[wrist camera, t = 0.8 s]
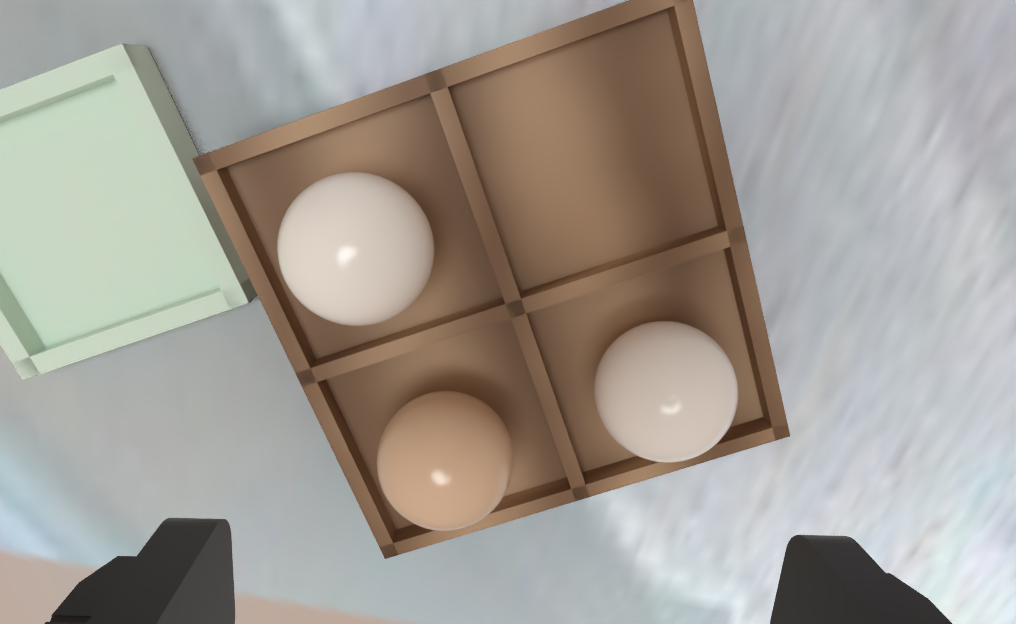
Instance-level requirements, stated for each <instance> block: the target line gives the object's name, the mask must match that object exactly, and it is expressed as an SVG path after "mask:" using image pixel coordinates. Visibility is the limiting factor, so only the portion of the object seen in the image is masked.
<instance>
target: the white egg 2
mask: <svg viewBox="0 0 1016 624" xmlns="http://www.w3.org/2000/svg"><path fill="white" fill-rule="evenodd" d="M594 399H595V404H596V408H597V412H598V415H599V417H600V419H601V421H602V423H603V425H604V427H605V429H606V430H607V431H608V433H609V434H610V435H611V436H612V438H613V439H614V440H615V441H616V442H617V443H618V444H620V445H621V446H622V447H623V448H625V449H626V450H628V451H629V452H631V453H633V454H635V455H637V456H639V457H642V458H644V459H648V460H652V461H656V462H679V461H684V460H688V459H691V458H694V457H697V456H699V455H701V454H703V453H705V452H706V451H708V450H709V449H711V448H712V447H713V446H714V445H716V444H717V443H718V442H719V441H720V439H721V438H722V437H723V436H724V435H725V433H726V432H727V431H728V429H729V427H730V426H731V424H732V421H733V419H734V416H735V413H736V409H737V404H738V383H737V377H736V374H735V371H734V368H733V365H732V363H731V362H730V360H729V358H728V356H727V355H726V353H725V352H724V351H723V349H722V348H721V347H720V346H719V344H718V343H717V342H716V341H714V340H713V339H712V338H711V337H710V336H708V335H707V334H706V333H704V332H702V331H701V330H699V329H697V328H694V327H692V326H689V325H687V324H683V323H679V322H673V321H655V322H649V323H645V324H641V325H639V326H636V327H634V328H632V329H630V330H628V331H626V332H625V333H623V334H622V335H620V336H619V337H618V338H617V339H616V340H615V341H614V342H613V343H612V344H611V345H610V346H609V347H608V349H607V350H606V352H605V353H604V355H603V356H602V358H601V361H600V363H599V365H598V368H597V371H596V375H595V380H594Z"/></svg>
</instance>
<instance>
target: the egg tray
mask: <svg viewBox="0 0 1016 624" xmlns="http://www.w3.org/2000/svg"><path fill="white" fill-rule="evenodd" d="M192 160H193V162H194V164H195V166H196V168H197V170H198V172H199V174H200V176H201V178H202V180H203V183H204V185H205V187H206V189H207V191H208V193H209V195H210V197H211V199H212V201H213V203H214V205H215V207H216V209H217V212H218V214H219V216H220V218H221V220H222V222H223V224H224V226H225V228H226V230H227V232H228V234H229V236H230V238H231V241H232V243H233V245H234V247H235V249H236V251H237V253H238V255H239V257H240V259H241V261H242V263H243V265H244V267H245V270H246V272H247V274H248V276H249V278H250V280H251V282H252V284H253V286H254V288H255V290H256V292H257V294H258V296H259V299H260V301H261V303H262V305H263V307H264V309H265V311H266V313H267V315H268V317H269V319H270V321H271V323H272V325H273V328H274V330H275V332H276V334H277V336H278V338H279V340H280V342H281V344H282V346H283V348H284V350H285V352H286V355H287V357H288V359H289V361H290V363H291V365H292V367H293V369H294V371H295V373H296V375H297V377H298V379H299V381H300V384H301V386H302V388H303V390H304V392H305V394H306V396H307V398H308V400H309V402H310V404H311V406H312V408H313V410H314V413H315V415H316V417H317V419H318V421H319V423H320V425H321V427H322V429H323V431H324V433H325V435H326V437H327V439H328V442H329V444H330V446H331V448H332V450H333V452H334V454H335V456H336V458H337V460H338V462H339V464H340V466H341V468H342V471H343V473H344V475H345V477H346V479H347V481H348V483H349V485H350V487H351V489H352V491H353V493H354V495H355V497H356V500H357V502H358V504H359V506H360V508H361V510H362V512H363V514H364V516H365V518H366V520H367V522H368V524H369V526H370V529H371V531H372V533H373V535H374V537H375V539H376V541H377V543H378V545H379V547H380V549H381V551H382V553H383V555H384V558H385V559H386V558H389V557H393V556H396V555H399V554H403V553H406V552H409V551H413V550H416V549H419V548H422V547H426V546H429V545H432V544H436V543H439V542H442V541H446V540H449V539H452V538H455V537H459V536H462V535H465V534H469V533H472V532H475V531H478V530H482V529H485V528H488V527H492V526H495V525H498V524H502V523H505V522H508V521H511V520H515V519H518V518H521V517H525V516H528V515H531V514H535V513H538V512H541V511H544V510H548V509H551V508H554V507H558V506H561V505H564V504H568V503H571V502H574V501H577V500H581V499H584V498H587V497H591V496H594V495H597V494H601V493H604V492H607V491H610V490H614V489H617V488H620V487H624V486H627V485H630V484H634V483H637V482H640V481H643V480H647V479H650V478H653V477H657V476H660V475H663V474H667V473H670V472H673V471H676V470H680V469H683V468H686V467H690V466H693V465H696V464H700V463H703V462H706V461H709V460H713V459H716V458H719V457H723V456H726V455H729V454H733V453H736V452H739V451H742V450H746V449H749V448H752V447H756V446H759V445H762V444H766V443H769V442H772V441H775V440H779V439H782V438H785V437H789V436H790V433H789V429H788V424H787V420H786V415H785V411H784V406H783V402H782V397H781V393H780V388H779V384H778V379H777V375H776V370H775V366H774V362H773V357H772V353H771V348H770V344H769V339H768V335H767V330H766V326H765V321H764V317H763V312H762V308H761V303H760V299H759V294H758V290H757V285H756V281H755V276H754V272H753V268H752V263H751V259H750V254H749V250H748V245H747V241H746V236H745V232H744V227H743V223H742V218H741V214H740V209H739V205H738V200H737V196H736V191H735V187H734V182H733V178H732V174H731V169H730V165H729V160H728V156H727V151H726V147H725V142H724V138H723V133H722V129H721V124H720V120H719V115H718V111H717V106H716V102H715V97H714V93H713V89H712V84H711V80H710V75H709V71H708V66H707V62H706V57H705V53H704V48H703V44H702V39H701V35H700V30H699V26H698V21H697V17H696V12H695V8H694V3H693V0H629V1H626V2H624V3H621V4H618V5H615V6H613V7H610V8H607V9H604V10H601V11H599V12H596V13H593V14H590V15H588V16H585V17H582V18H579V19H577V20H574V21H571V22H568V23H566V24H563V25H560V26H557V27H554V28H552V29H549V30H546V31H543V32H541V33H538V34H535V35H532V36H530V37H527V38H524V39H521V40H519V41H516V42H513V43H510V44H507V45H505V46H502V47H499V48H496V49H494V50H491V51H488V52H485V53H483V54H480V55H477V56H474V57H471V58H469V59H466V60H463V61H460V62H458V63H455V64H452V65H449V66H447V67H444V68H441V69H438V70H436V71H433V72H430V73H427V74H424V75H422V76H419V77H416V78H413V79H411V80H408V81H405V82H402V83H400V84H397V85H394V86H391V87H389V88H386V89H383V90H380V91H377V92H375V93H372V94H369V95H366V96H364V97H361V98H358V99H355V100H353V101H350V102H347V103H344V104H342V105H339V106H336V107H333V108H330V109H328V110H325V111H322V112H319V113H317V114H314V115H311V116H308V117H306V118H303V119H300V120H297V121H295V122H292V123H289V124H286V125H283V126H281V127H278V128H275V129H272V130H270V131H267V132H264V133H261V134H259V135H256V136H253V137H250V138H247V139H245V140H242V141H239V142H236V143H234V144H231V145H228V146H225V147H223V148H220V149H217V150H214V151H212V152H209V153H206V154H203V155H200V156H198V157H195V158H192ZM346 172H363V173H370V174H374V175H378V176H381V177H383V178H386V179H388V180H390V181H392V182H394V183H395V184H397V185H399V186H400V187H401V188H403V189H404V190H406V191H407V192H408V193H409V194H410V195H411V196H412V197H413V198H414V199H415V200H416V202H417V203H418V204H419V205H420V207H421V208H422V210H423V211H424V213H425V215H426V217H427V219H428V221H429V224H430V227H431V230H432V233H433V239H434V262H433V267H432V271H431V274H430V277H429V280H428V282H427V284H426V286H425V287H424V289H423V291H422V293H421V294H420V295H419V296H418V298H417V299H416V300H415V301H414V302H413V303H412V304H411V305H410V306H409V307H408V308H407V309H405V310H404V311H403V312H401V313H400V314H398V315H396V316H395V317H393V318H391V319H389V320H386V321H384V322H380V323H377V324H372V325H365V326H350V325H342V324H338V323H334V322H331V321H329V320H326V319H324V318H322V317H320V316H318V315H316V314H314V313H313V312H311V311H310V310H308V309H307V308H306V307H305V306H304V305H303V304H301V303H300V301H299V300H298V299H297V298H296V297H295V296H294V295H293V293H292V292H291V290H290V289H289V287H288V286H287V284H286V282H285V280H284V278H283V275H282V272H281V269H280V265H279V261H278V253H277V240H278V234H279V229H280V226H281V223H282V220H283V218H284V215H285V213H286V211H287V209H288V208H289V206H290V205H291V203H292V202H293V201H294V200H295V198H296V197H297V196H298V195H299V194H300V193H301V192H303V191H304V190H305V189H306V188H307V187H309V186H310V185H312V184H313V183H315V182H316V181H318V180H321V179H323V178H325V177H328V176H331V175H335V174H339V173H346ZM655 321H673V322H679V323H683V324H687V325H689V326H692V327H694V328H697V329H699V330H701V331H702V332H704V333H706V334H707V335H708V336H710V337H711V338H712V339H713V340H714V341H716V342H717V343H718V344H719V346H720V347H721V348H722V349H723V351H724V352H725V353H726V355H727V356H728V358H729V360H730V362H731V363H732V365H733V368H734V371H735V374H736V377H737V383H738V404H737V409H736V413H735V416H734V419H733V421H732V424H731V426H730V427H729V429H728V431H727V432H726V433H725V435H724V436H723V437H722V438H721V439H720V441H719V442H718V443H717V444H716V445H714V446H713V447H712V448H711V449H709V450H708V451H706V452H705V453H703V454H701V455H699V456H697V457H694V458H691V459H688V460H684V461H679V462H656V461H652V460H648V459H644V458H642V457H639V456H637V455H635V454H633V453H631V452H629V451H628V450H626V449H625V448H623V447H622V446H621V445H620V444H618V443H617V442H616V441H615V440H614V439H613V438H612V436H611V435H610V434H609V433H608V431H607V430H606V429H605V427H604V425H603V423H602V421H601V419H600V417H599V415H598V412H597V408H596V404H595V399H594V380H595V375H596V371H597V368H598V365H599V363H600V361H601V358H602V356H603V355H604V353H605V352H606V350H607V349H608V347H609V346H610V345H611V344H612V343H613V342H614V341H615V340H616V339H617V338H618V337H619V336H620V335H622V334H623V333H625V332H626V331H628V330H630V329H632V328H634V327H636V326H639V325H641V324H645V323H649V322H655ZM436 391H457V392H462V393H466V394H469V395H472V396H474V397H476V398H478V399H480V400H482V401H483V402H485V403H486V404H488V405H489V406H490V407H491V408H492V409H493V410H494V411H495V412H496V413H497V414H498V415H499V416H500V418H501V419H502V421H503V422H504V424H505V426H506V428H507V430H508V432H509V434H510V437H511V441H512V445H513V451H514V468H513V474H512V478H511V481H510V484H509V487H508V489H507V491H506V493H505V495H504V497H503V498H502V500H501V501H500V503H499V504H498V505H497V506H496V507H495V509H494V510H493V511H491V512H490V513H489V514H488V515H487V516H486V517H484V518H483V519H482V520H480V521H478V522H476V523H474V524H473V525H470V526H467V527H465V528H461V529H457V530H451V531H437V530H431V529H426V528H423V527H420V526H418V525H416V524H413V523H412V522H410V521H408V520H407V519H405V518H404V517H403V516H401V515H400V514H399V513H398V512H397V511H396V510H395V509H394V508H393V507H392V505H391V504H390V503H389V501H388V500H387V498H386V496H385V495H384V493H383V490H382V488H381V485H380V482H379V478H378V474H377V451H378V446H379V442H380V439H381V436H382V434H383V432H384V429H385V428H386V426H387V424H388V422H389V421H390V420H391V418H392V417H393V416H394V415H395V414H396V412H397V411H398V410H400V409H401V408H402V407H403V406H404V405H406V404H407V403H408V402H410V401H411V400H413V399H415V398H417V397H419V396H422V395H424V394H427V393H431V392H436Z"/></svg>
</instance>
